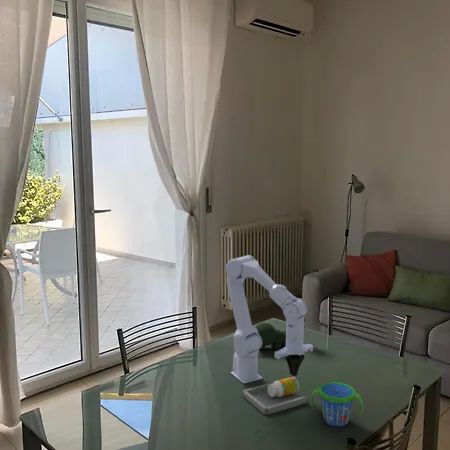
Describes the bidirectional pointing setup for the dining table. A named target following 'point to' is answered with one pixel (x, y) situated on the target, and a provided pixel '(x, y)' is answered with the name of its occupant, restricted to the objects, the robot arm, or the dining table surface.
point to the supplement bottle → (283, 387)
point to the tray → (271, 400)
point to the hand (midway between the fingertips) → (293, 374)
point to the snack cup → (336, 402)
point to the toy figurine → (271, 335)
